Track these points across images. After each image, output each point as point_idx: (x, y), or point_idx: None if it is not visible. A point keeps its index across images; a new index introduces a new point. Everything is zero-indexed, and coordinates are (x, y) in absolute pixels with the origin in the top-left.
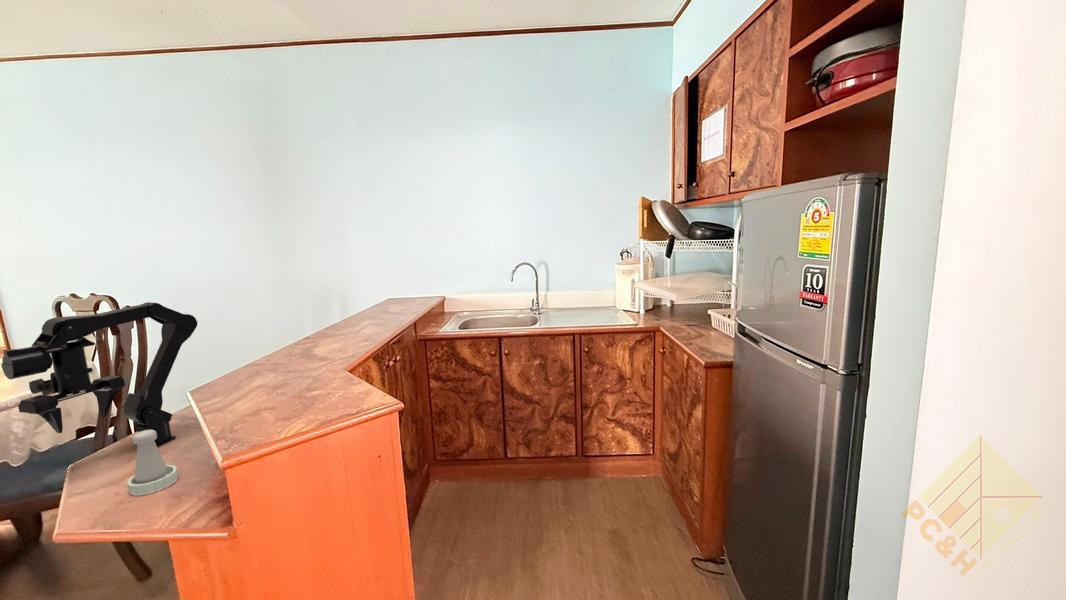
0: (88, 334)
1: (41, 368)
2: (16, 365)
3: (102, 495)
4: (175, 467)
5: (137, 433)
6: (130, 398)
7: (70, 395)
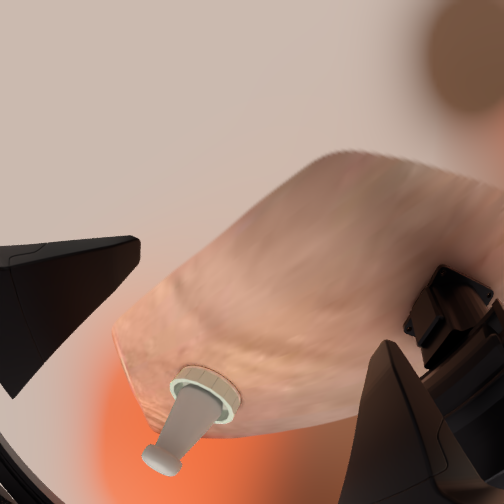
0: None
1: None
2: None
3: (175, 331)
4: (224, 422)
5: (148, 463)
6: (492, 449)
7: (17, 489)
